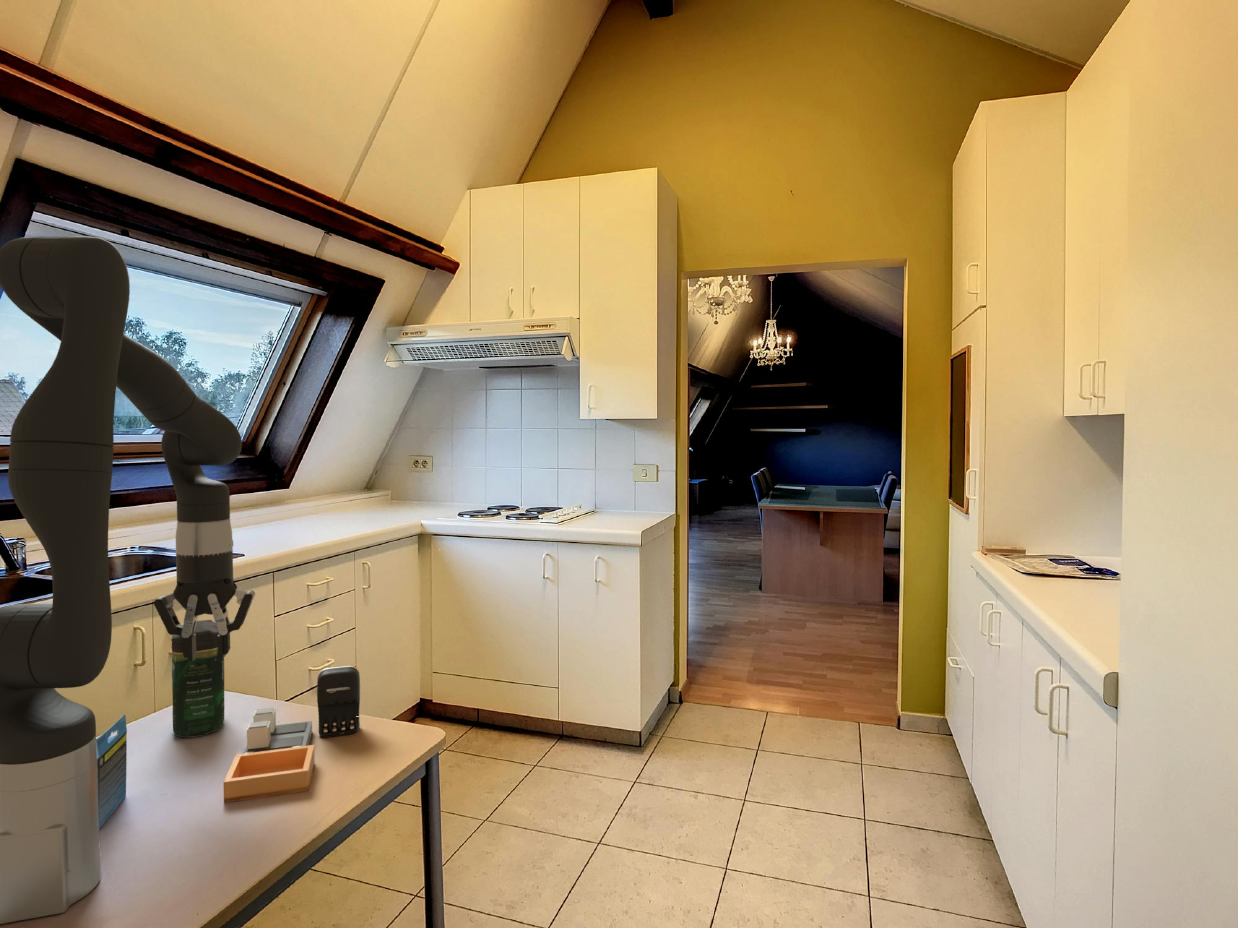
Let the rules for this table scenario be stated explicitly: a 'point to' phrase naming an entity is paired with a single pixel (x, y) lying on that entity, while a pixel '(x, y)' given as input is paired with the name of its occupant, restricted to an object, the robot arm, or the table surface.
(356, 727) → the battery charger
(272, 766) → the tray
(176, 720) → the coffee jar
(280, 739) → the panel
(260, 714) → the breaker
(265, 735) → the block
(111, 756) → the label tape box
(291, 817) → the table surface
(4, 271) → the robot arm
